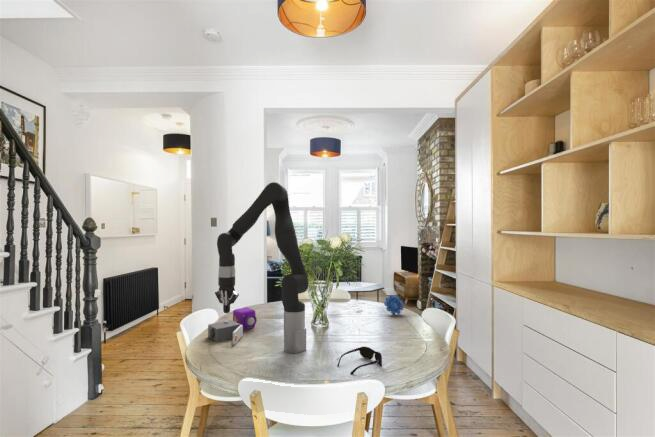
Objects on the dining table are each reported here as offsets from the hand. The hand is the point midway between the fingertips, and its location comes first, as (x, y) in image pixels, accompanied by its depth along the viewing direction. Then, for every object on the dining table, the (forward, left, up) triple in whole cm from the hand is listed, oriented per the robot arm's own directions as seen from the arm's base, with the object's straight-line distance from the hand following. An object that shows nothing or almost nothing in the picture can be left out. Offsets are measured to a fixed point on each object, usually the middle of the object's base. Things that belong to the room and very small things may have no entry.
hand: (226, 312), depth 161 cm
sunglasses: (-59, -27, -14) cm, 67 cm away
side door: (-1, -5, -14) cm, 15 cm away
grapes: (-22, -97, -14) cm, 101 cm away
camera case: (+9, -3, -14) cm, 17 cm away
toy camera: (+15, -18, -14) cm, 27 cm away
